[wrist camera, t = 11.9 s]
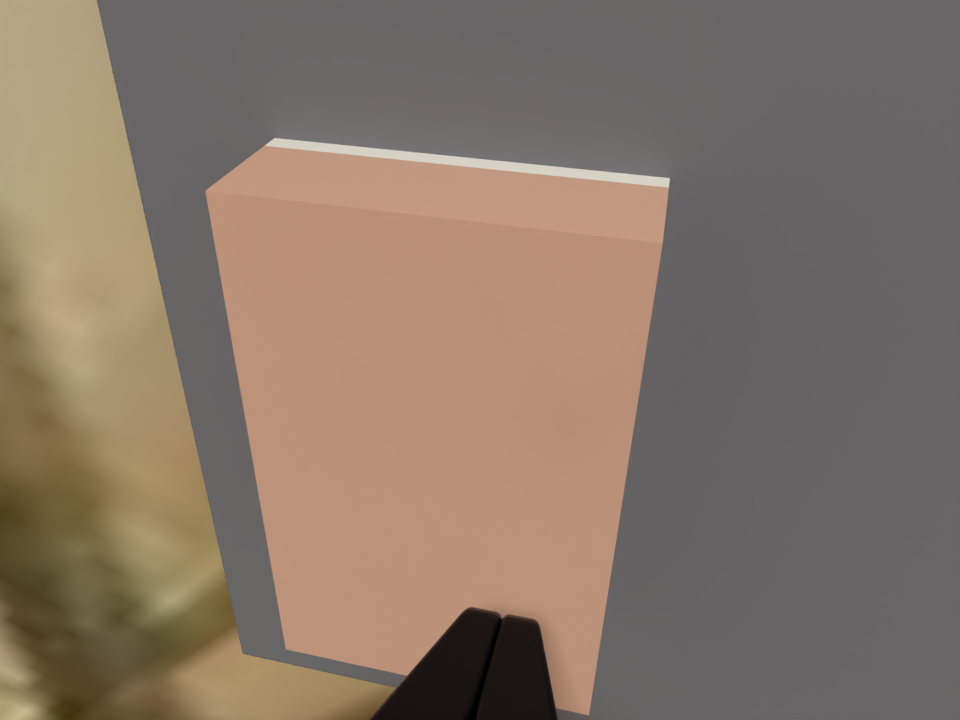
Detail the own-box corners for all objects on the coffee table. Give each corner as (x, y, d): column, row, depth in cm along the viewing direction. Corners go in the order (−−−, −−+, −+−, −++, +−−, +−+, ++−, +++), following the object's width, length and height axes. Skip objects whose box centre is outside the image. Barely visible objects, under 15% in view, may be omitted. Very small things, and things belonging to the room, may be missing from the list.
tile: (662, 243, 8) (205, 190, 9) (588, 715, 13) (285, 649, 14) (670, 178, 10) (274, 137, 11) (601, 622, 14) (326, 568, 15)
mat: (2454, -376, 5) (2563, -388, 5) (1212, 846, 14) (1223, 870, 14) (44, -349, 9) (17, -356, 8) (251, 638, 18) (242, 653, 17)
